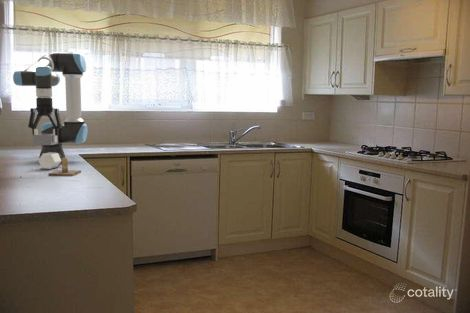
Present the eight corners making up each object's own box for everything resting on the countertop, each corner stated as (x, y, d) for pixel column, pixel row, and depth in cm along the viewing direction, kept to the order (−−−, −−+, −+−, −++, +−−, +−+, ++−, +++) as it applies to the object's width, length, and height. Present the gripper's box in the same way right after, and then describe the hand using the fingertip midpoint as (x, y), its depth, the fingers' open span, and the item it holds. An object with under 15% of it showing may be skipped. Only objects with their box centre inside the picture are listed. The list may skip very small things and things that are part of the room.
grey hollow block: (40, 143, 259) (40, 133, 258) (58, 143, 258) (57, 133, 258) (33, 144, 250) (33, 134, 249) (51, 145, 249) (50, 135, 249)
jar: (54, 169, 264) (62, 167, 276) (55, 154, 263) (63, 152, 275) (37, 168, 264) (46, 165, 276) (38, 152, 264) (47, 151, 276)
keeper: (57, 172, 256) (57, 156, 255) (80, 172, 256) (80, 156, 255) (48, 175, 244) (47, 159, 243) (72, 175, 244) (72, 159, 243)
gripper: (19, 97, 248) (21, 142, 250) (62, 97, 247) (64, 142, 250) (26, 97, 255) (27, 141, 258) (68, 97, 255) (69, 141, 257)
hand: (45, 141), depth 254 cm, fingers closed on grey hollow block, 9 cm apart
